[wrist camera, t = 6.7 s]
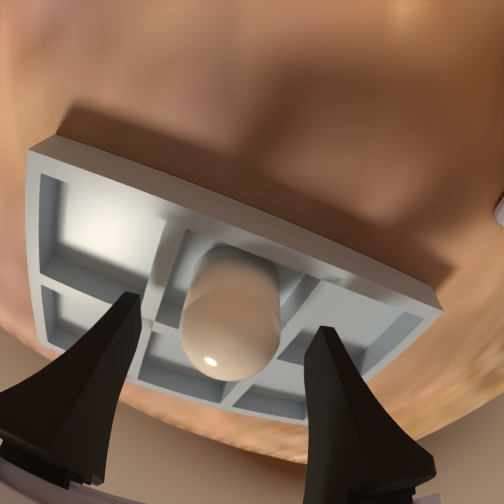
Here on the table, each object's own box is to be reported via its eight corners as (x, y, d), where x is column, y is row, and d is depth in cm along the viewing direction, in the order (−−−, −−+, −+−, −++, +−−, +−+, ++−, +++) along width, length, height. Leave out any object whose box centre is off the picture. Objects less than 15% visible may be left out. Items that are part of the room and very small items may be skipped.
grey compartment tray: (430, 286, 15) (444, 311, 14) (305, 403, 23) (307, 425, 21) (54, 134, 11) (28, 149, 9) (50, 322, 18) (39, 343, 17)
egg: (289, 254, 14) (297, 348, 10) (268, 316, 16) (267, 403, 12) (196, 237, 13) (169, 328, 9) (190, 303, 16) (170, 389, 12)
